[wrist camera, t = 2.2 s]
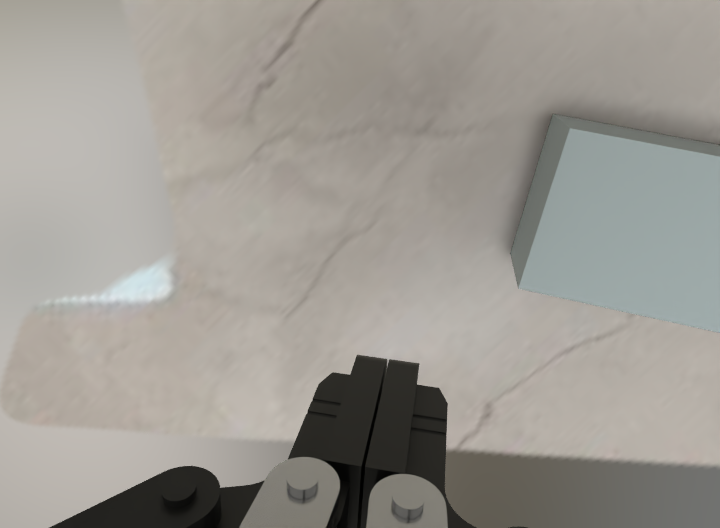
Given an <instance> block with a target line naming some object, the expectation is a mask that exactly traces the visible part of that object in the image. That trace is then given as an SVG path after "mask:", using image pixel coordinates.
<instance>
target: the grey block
mask: <svg viewBox="0 0 720 528" xmlns="http://www.w3.org/2000/svg"><path fill="white" fill-rule="evenodd" d="M510 254H511V258H512V263H513V267H514V272H515V276H516V281H517V285H518V289H522V290H527V291H531V292H536V293H540V294H545V295H549V296H554V297H559V298H563V299H568V300H572V301H577V302H581V303H586V304H590V305H595V306H600V307H604V308H609V309H613V310H618V311H622V312H627V313H631V314H636V315H641V316H645V317H650V318H654V319H659V320H663V321H668V322H672V323H677V324H682V325H686V326H691V327H695V328H700V329H704V330H709V331H713V332H718V333H720V145H717V144H712V143H706V142H701V141H696V140H690V139H685V138H680V137H674V136H669V135H664V134H658V133H653V132H648V131H642V130H637V129H632V128H626V127H621V126H616V125H610V124H605V123H600V122H594V121H589V120H584V119H578V118H573V117H568V116H562V115H557V114H553V115H552V118H551V122H550V125H549V128H548V132H547V135H546V138H545V141H544V145H543V148H542V151H541V155H540V158H539V161H538V164H537V168H536V171H535V174H534V178H533V181H532V184H531V187H530V191H529V194H528V197H527V201H526V204H525V207H524V210H523V214H522V217H521V220H520V224H519V227H518V230H517V233H516V237H515V240H514V243H513V246H512V250H511V253H510Z"/></svg>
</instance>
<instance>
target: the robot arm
mask: <svg viewBox="0 0 720 528" xmlns="http://www.w3.org/2000/svg"><path fill="white" fill-rule="evenodd" d="M418 370H419V364H418V363H411V362H405V361H398V360H391V359H389V363H388V367H387V359H383V358H376V357H369V356H362V355H357V357H356V359H355V362H354V366H353V369H352V372H351V375H347V374H340V373H331V374H330V375H329V376H328V377H327V378H325V379H324V380H323V381H322V382H321V383H319V385H318V387H317V390H316V392H315V395H314V397H313V401H312V402H311V404H310V407H309V409H308V413H307V414H306V417H305V419H304V421H303V424H302V426H301V429H300V431H299V433H298V436H297V438H296V441H295V443H294V446H293V448H292V450H291V453H290V455H289V458H288V460H286V461H284V462H282V463H280V464H278V465H277V466H276V467H274V468H273V469H272V470H271V471H270V473H269V474H268V476H267V478H266V479H265V481H262V482H260V483H256V484H252V485H246V486H236V487H225V488H220V485H219V482H218V480H217V478H216V477H215V475H213V474H212V473H211V472H210V471H208V470H206V469H204V468H200V467H195V466H183V467H177V468H173V469H170V470H167V471H165V472H163V473H161V474H159V475H156V476H154V477H152V478H150V479H148V480H146V481H144V482H142V483H140V484H138V485H136V486H134V487H132V488H130V489H128V490H126V491H124V492H122V493H120V494H118V495H116V496H114V497H111V498H109V499H107V500H105V501H103V502H101V503H99V504H97V505H95V506H93V507H91V508H89V509H87V510H85V511H83V512H81V513H79V514H77V515H75V516H73V517H71V518H69V519H66V520H64V521H62V522H61V523H58V524H56V525H54V526H52V527H50V528H476V527H474V526H472V525H471V524H469V523H467V522H466V521H464V520H463V519H462V518H461V517H460V516H458V514H456V513H455V511H454V510H453V509H452V507H451V506H450V504H449V502H448V500H447V498H446V494H445V486H444V485H445V459H446V458H445V457H446V432H447V405H448V403H447V402H446V400H445V398H444V396H443V394H442V393H441V391H440V389H439V388H435V387H428V386H422V385H417V379H418ZM510 528H526V527H510Z"/></svg>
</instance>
